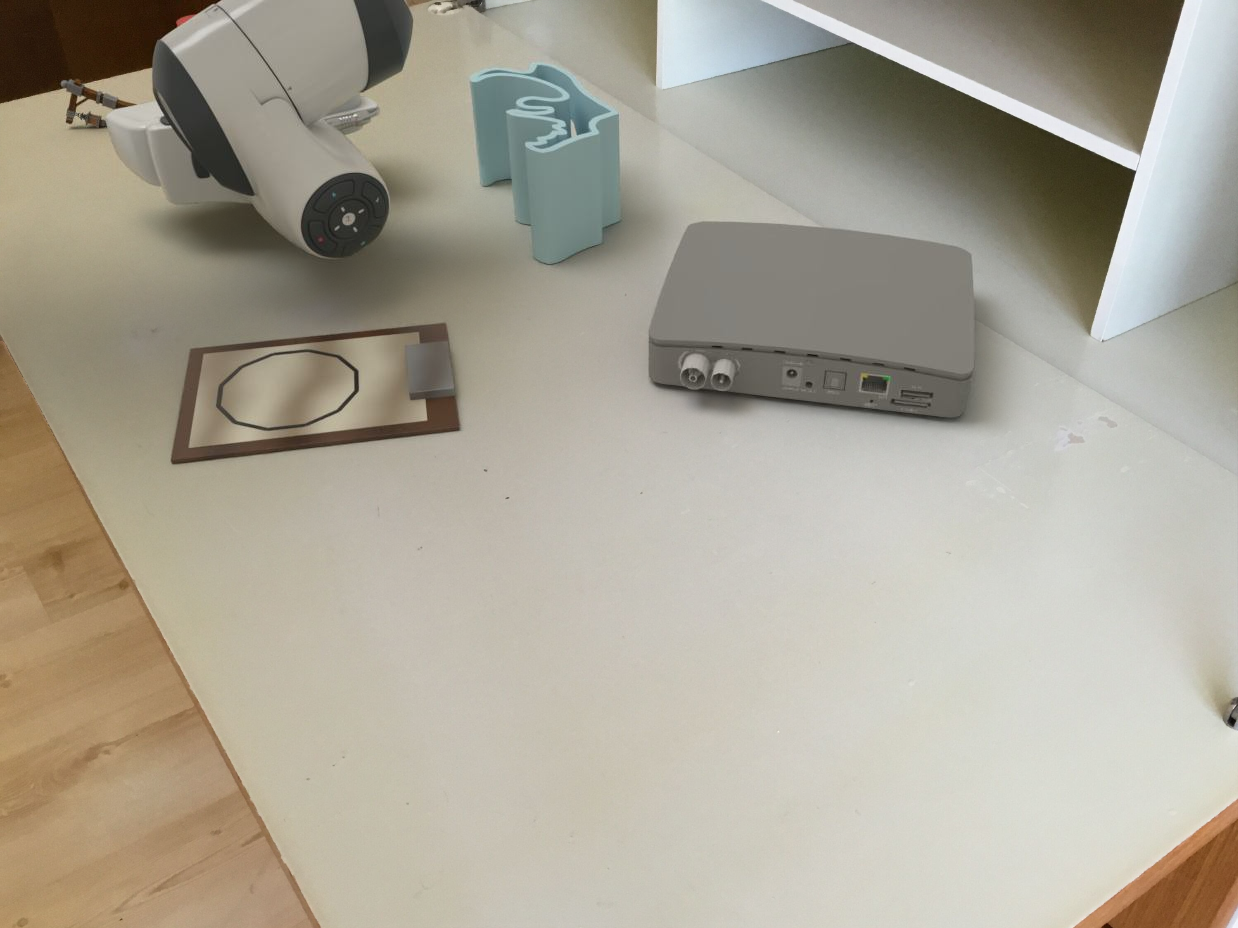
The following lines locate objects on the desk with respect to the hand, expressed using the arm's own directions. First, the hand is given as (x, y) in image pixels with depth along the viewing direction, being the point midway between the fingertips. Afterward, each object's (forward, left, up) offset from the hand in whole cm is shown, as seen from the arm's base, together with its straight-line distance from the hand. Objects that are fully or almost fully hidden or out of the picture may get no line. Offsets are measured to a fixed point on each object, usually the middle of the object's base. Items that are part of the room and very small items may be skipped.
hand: (210, 88), depth 100 cm
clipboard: (+8, -38, -7) cm, 39 cm away
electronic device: (+43, -39, -7) cm, 59 cm away
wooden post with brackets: (-12, +11, -7) cm, 18 cm away
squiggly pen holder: (+27, -14, -7) cm, 32 cm away
